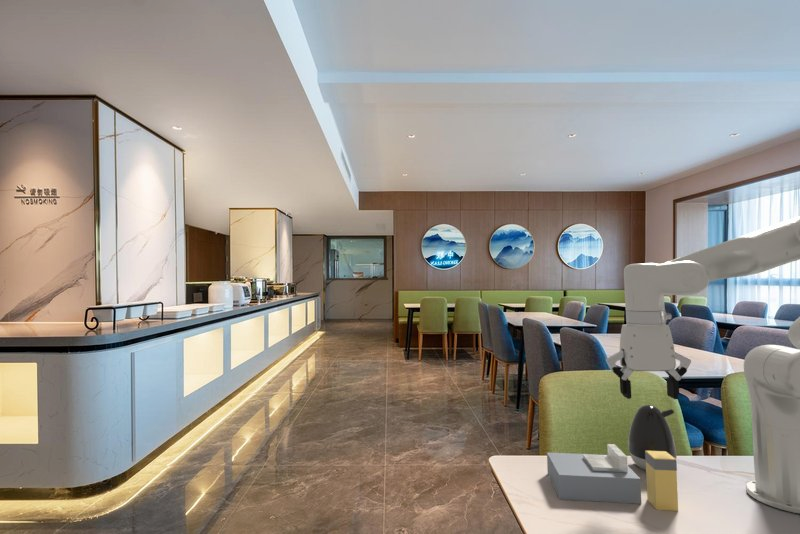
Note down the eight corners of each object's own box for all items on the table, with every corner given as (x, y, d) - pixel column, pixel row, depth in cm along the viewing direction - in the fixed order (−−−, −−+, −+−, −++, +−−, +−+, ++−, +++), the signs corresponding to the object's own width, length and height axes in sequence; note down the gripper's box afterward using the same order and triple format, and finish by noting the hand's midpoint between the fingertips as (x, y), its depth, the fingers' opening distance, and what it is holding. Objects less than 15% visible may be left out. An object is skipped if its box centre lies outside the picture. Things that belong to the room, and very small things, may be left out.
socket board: (618, 477, 97) (617, 455, 97) (641, 503, 85) (640, 478, 85) (547, 473, 99) (546, 452, 99) (560, 499, 87) (559, 474, 87)
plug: (668, 500, 86) (666, 451, 87) (678, 511, 82) (676, 459, 83) (647, 499, 87) (645, 450, 87) (656, 509, 83) (654, 458, 83)
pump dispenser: (686, 479, 95) (683, 412, 96) (636, 475, 98) (634, 410, 98) (667, 461, 105) (664, 400, 106) (622, 458, 108) (620, 398, 108)
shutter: (615, 459, 95) (614, 444, 95) (627, 472, 88) (627, 456, 88) (583, 457, 96) (582, 443, 96) (592, 470, 89) (592, 455, 89)
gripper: (678, 317, 95) (683, 393, 94) (598, 318, 97) (602, 392, 96) (697, 319, 87) (702, 402, 86) (610, 320, 90) (614, 401, 89)
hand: (649, 397), depth 91 cm, fingers open, 9 cm apart
